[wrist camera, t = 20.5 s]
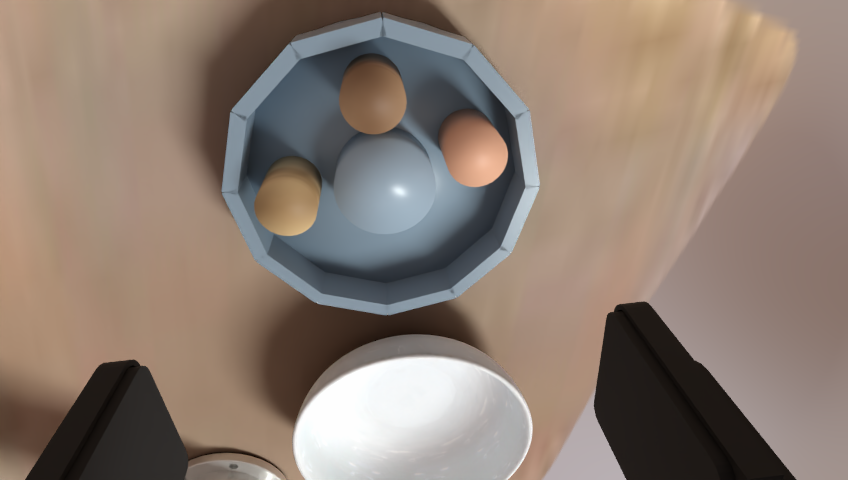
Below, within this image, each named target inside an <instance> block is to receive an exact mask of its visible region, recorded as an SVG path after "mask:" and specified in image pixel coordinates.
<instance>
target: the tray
mask: <svg viewBox="0 0 848 480" xmlns="http://www.w3.org/2000/svg"><path fill="white" fill-rule="evenodd" d="M368 53H375V54H380V55H383V56H385V57H387V58H388V59H390V60H391V61H392V62H393V63H394V64H395V65H396V66H397V68H398V70H399V72H400V74H401V78H402V82H403V86H404V89H405V93H406V101H407V104H406V110H405V113H404V115H403V117H402V119H401V121H400V122H399V123H398V124H397V125H396V126H395V127H394V128H393V129H391V130H389V131H387V132H385V133H381V134H366V133H363V132H360V131H358V130H356V129H355V128H353V127H352V126H351V125H350V124H349V123H348V122H347V121H346V120H345V118H344V117H343V115H342V112H341V110H340V105H339V95H340V90H341V85H342V79H343V75H344V72H345V69H346V68H347V66H348V65H349V63H350V62H351V61H352V60H354V59H355V58H356V57H358V56H360V55H363V54H368ZM460 109H475V110H478V111H480V112H481V113H483V114H484V115H485V116H486V117H487V118H488V119H489V120H490V122H491V123H492V125H493V126H494V127H495V129H496V130H497V132H498V133H499V134H500V136H501V137H502V139H503V140H504V142H505V144H506V146H507V150H508V160H507V164H506V167H505V169H504V170H503V172H502V173H501V175H500V176H499V177H498V178H497V179H496V180H494V181H493V182H491V183H489V184H487V185H484V186H480V187H469V186H465V185H462V184H460V183H459V182H457V181H456V180H455V179H454V178H453V177H452V176H451V174H450V172H449V170H448V168H447V165H446V162H445V159H444V157H443V154H442V151H441V149H440V146H439V142H438V133H439V129H440V126H441V124H442V123H443V121H444V120H445V119H446V118H447V117H448V116H449V115H450V114H451V113H453V112H455V111H457V110H460ZM286 156H298V157H302V158H304V159H306V160H308V161H310V162H311V163H312V164H314V165H315V166H316V168H317V169H318V170H319V172H320V174H321V177H322V190H321V195H320V200H319V205H318V211H317V216H316V219H315V221H314V223H313V225H312V226H311V227H310V228H309V229H308V230H306V231H305V232H303V233H301V234H298V235H294V236H283V235H278V234H275V233H273V232H271V231H269V230H268V229H266V228H265V227H264V226H263V225H262V224H261V223H260V222H259V220H258V219H257V217H256V214H255V210H254V202H255V198H256V196H257V194H258V191H259V189H260V187H261V185H262V183H263V180H264V178H265V176H266V174H267V171H268V169H269V168H270V166H271V165H272V164H273V163H274V162H275V161H276V160H278V159H280V158H282V157H286ZM539 186H540V183H539V176H538V168H537V161H536V154H535V146H534V139H533V132H532V124H531V117H530V111H529V109H528V108H527V106H526V105H525V104H524V103H523V102H522V101H521V99H520V98H519V97H518V96H517V95H516V94H515V92H514V91H513V90H512V89H511V88H510V87H509V85H508V84H507V83H506V82H505V81H504V80H503V78H502V77H501V76H500V75H499V74H498V73H497V71H496V70H495V69H494V68H493V67H492V66H491V64H490V63H489V62H488V61H487V60H486V59H485V57H484V56H483V55H482V54H481V53H480V52H479V50H478V49H477V48H476V47H475V46H474V45H473V44H472V43H471V42H470V41H469V40H468V39H467V38H465V37H463V36H460V35H457V34H454V33H450V32H447V31H444V30H441V29H438V28H435V27H433V26H430V25H428V24H425V23H422V22H418V21H414V20H409V19H405V18H401V17H398V16H394V15H391V14H388V13H385V12H382V16H381V12H378V13H374V14H371V15H367V16H364V17H359V18H354V19H349V20H344V21H339V22H336V23H334V24H331V25H328V26H325V27H323V28H320V29H317V30H313V31H310V32H306V33H303V34H299V35H296V37H294V38H293V39H292V40H291V41H290V43H289V44H288V45H287V46H286V47H285V48H284V50H283V51H282V52H281V53H280V54H279V55H278V56H277V58H276V59H275V60H274V61H273V62H272V63H271V64H270V66H269V67H268V68H267V69H266V70H265V71H264V73H263V74H262V75H261V76H260V77H259V78H258V80H257V81H256V82H255V83H254V84H253V85H252V86H251V88H250V89H249V90H248V91H247V92H246V93H245V95H244V96H243V97H242V98H241V99H240V100H239V102H238V103H237V104H236V105H235V106H234V108H233V109H232V110H231V112H230V120H229V129H228V138H227V147H226V156H225V165H224V174H223V183H222V195H223V197H224V199H225V201H226V203H227V205H228V207H229V209H230V211H231V213H232V215H233V217H234V219H235V221H236V223H237V225H238V227H239V229H240V231H241V233H242V235H243V237H244V239H245V241H246V243H247V245H248V247H249V249H250V251H251V253H252V255H253V257H254V259H255V260H257V261H256V262H257V263H259V264H260V265H262V266H263V267H264V268H266V269H267V270H269V271H270V272H272V273H273V274H275V275H276V276H277V277H279V278H280V279H282V280H283V281H285V282H286V283H287V284H289V285H290V286H292V287H293V288H295V289H296V290H297V291H299V292H300V293H302V294H303V295H305V296H306V297H307V298H309V299H310V300H312V301H313V302H315V303H316V302H317V304H322V305H328V306H333V307H339V308H345V309H351V310H357V311H363V312H369V313H375V314H381V315H387V313H388V315H392V314H396V313H400V312H404V311H408V310H411V309H415V308H419V307H423V306H427V305H431V304H435V303H439V302H443V301H447V300H451V299H454V298H456V297H458V296H460V295H461V294H462V293H463V292H464V291H466V290H467V289H468V288H469V287H471V286H472V285H473V284H474V283H475V282H477V281H478V280H479V279H480V278H482V277H483V276H484V275H485V274H486V273H488V272H489V271H490V270H491V269H493V268H494V267H495V266H496V265H498V264H499V263H500V262H501V261H502V260H504V259H505V258H506V257H507V256H509V255H510V254H511V253H510V252H512V251H513V248H514V246H515V244H516V241H517V239H518V237H519V234H520V232H521V230H522V227H523V225H524V223H525V220H526V218H527V216H528V213H529V211H530V209H531V206H532V204H533V202H534V199H535V197H536V195H537V192H538V190H539V188H540V187H539ZM455 296H456V297H455Z"/></svg>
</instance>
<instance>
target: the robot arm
mask: <svg viewBox="0 0 848 480" xmlns="http://www.w3.org/2000/svg"><path fill="white" fill-rule="evenodd" d="M594 409H595V414H596V418H597V420H598V422H599V424H600V426H601V429H602V430H603V432H604V435H605V437H606V439H607V441H608V443H609V445H610V447H611V449H612V451H613V453H614V455H615V457H616V459H617V461H618V463H619V465H620V467H621V469H622V471H623V474H624V476H625V478H626V479H627V480H796V479H795V477H794V476H793V475H792V474H791V473H790V471H789V470H788V469H787V468H786V467H785V465H784V464H783V463H782V462H781V460H780V459H779V458H778V457H777V455H776V454H775V453H774V451H773V450H772V449H771V448H770V446H769V445H768V444H767V443H766V442H765V440H764V439H763V438H762V437H761V436H760V434H759V433H758V432H757V431H756V429H755V428H754V427H753V425H752V424H751V423H750V422H749V421H748V419H747V418H746V417H745V416H744V414H743V413H742V412H741V411H740V409H739V408H738V407H737V406H736V404H735V403H734V402H733V401H732V400H731V398H730V397H729V396H728V395H727V393H726V392H725V391H724V390H723V388H722V387H721V386H720V385H719V383H718V382H717V381H716V380H715V378H714V377H713V376H712V375H711V374H710V372H709V371H708V370H707V369H706V368H705V367H704V366H703V365H702V364H701V363H699V362H697V361H694V360H693V358H692V357H691V356H690V355H689V353H688V352H687V351H686V349H685V348H684V347H683V346H682V344H681V343H680V342H679V341H678V340H677V338H676V337H675V336H674V334H673V333H672V332H671V331H670V329H669V328H668V327H667V326H666V324H665V323H664V322H663V321H662V319H661V318H660V317H659V315H658V314H657V313H656V312H655V310H654V309H653V308H652V307H651V306H650V305H649V304H648V303H647V302H636V303H627V304H619V305H617V306H616V307H615V310H614V312H610V313H608V315H607V318H606V325H605V332H604V339H603V345H602V352H601V359H600V366H599V372H598V379H597V386H596V393H595V400H594ZM25 480H286V478H285V476H284V475H283V474H282V473H281V472H280V471H279V470H278V469H277V468H275V467H274V466H273V465H271V464H270V463H268V462H266V461H264V460H262V459H259V458H256V457H253V456H249V455H244V454H237V453H215V454H210V455H204V456H201V457H198V458H195V459H192V460H190V461H188V455H187V452H186V449H185V447H184V445H183V443H182V441H181V438H180V436H179V434H178V432H177V430H176V428H175V425H174V423H173V421H172V419H171V417H170V414H169V412H168V410H167V408H166V406H165V403H164V401H163V399H162V397H161V395H160V393H159V390H158V388H157V386H156V384H155V382H154V379H153V377H152V375H151V373H150V371H149V369H148V368H147V367H146V366H140V364H139V363H138V362H137V361H136V360H126V361H117V362H108V363H103V364H101V365H99V367H98V368H97V369H96V370H95V372H94V373H93V375H92V377H91V378H90V380H89V381H88V383H87V384H86V386H85V387H84V389H83V391H82V392H81V394H80V395H79V397H78V398H77V400H76V401H75V403H74V405H73V406H72V408H71V409H70V411H69V412H68V414H67V415H66V417H65V419H64V420H63V422H62V423H61V425H60V426H59V428H58V429H57V431H56V433H55V434H54V436H53V437H52V439H51V440H50V442H49V443H48V445H47V447H46V448H45V450H44V451H43V453H42V454H41V456H40V457H39V459H38V461H37V462H36V464H35V465H34V467H33V468H32V470H31V471H30V473H29V475H28V476H27V478H26V479H25Z"/></svg>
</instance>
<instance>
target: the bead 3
mask: <svg viewBox="0 0 848 480" xmlns="http://www.w3.org/2000/svg"><path fill="white" fill-rule="evenodd" d="M438 142H439V146H440V149H441V151H442V154H443V157H444V159H445V162H446V165H447V168H448V170H449V172H450V174H451V176H452V177H453V178H454V179H455V180H456V181H457V182H459V183H460V184H462V185H465V186H469V187H480V186H484V185H487V184H489V183H491V182H493V181H494V180H496V179H497V178H498V177H499V176H500V175H501V173H502V172H503V170H504V169H505V167H506V164H507V160H508V150H507V146H506V144H505V142H504V140H503V139H502V137H501V136H500V134H499V133H498V132H497V130H496V129H495V127H494V126H493V125H492V123H491V122H490V120H489V119H488V118H487V117H486V116H485V115H484V114H483V113H481V112H480V111H478V110H475V109H460V110H457V111H455V112H453V113H451V114H450V115H449V116H448V117H447V118H446V119H445V120H444V121H443V123H442V124H441V126H440V129H439V133H438Z"/></svg>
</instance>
